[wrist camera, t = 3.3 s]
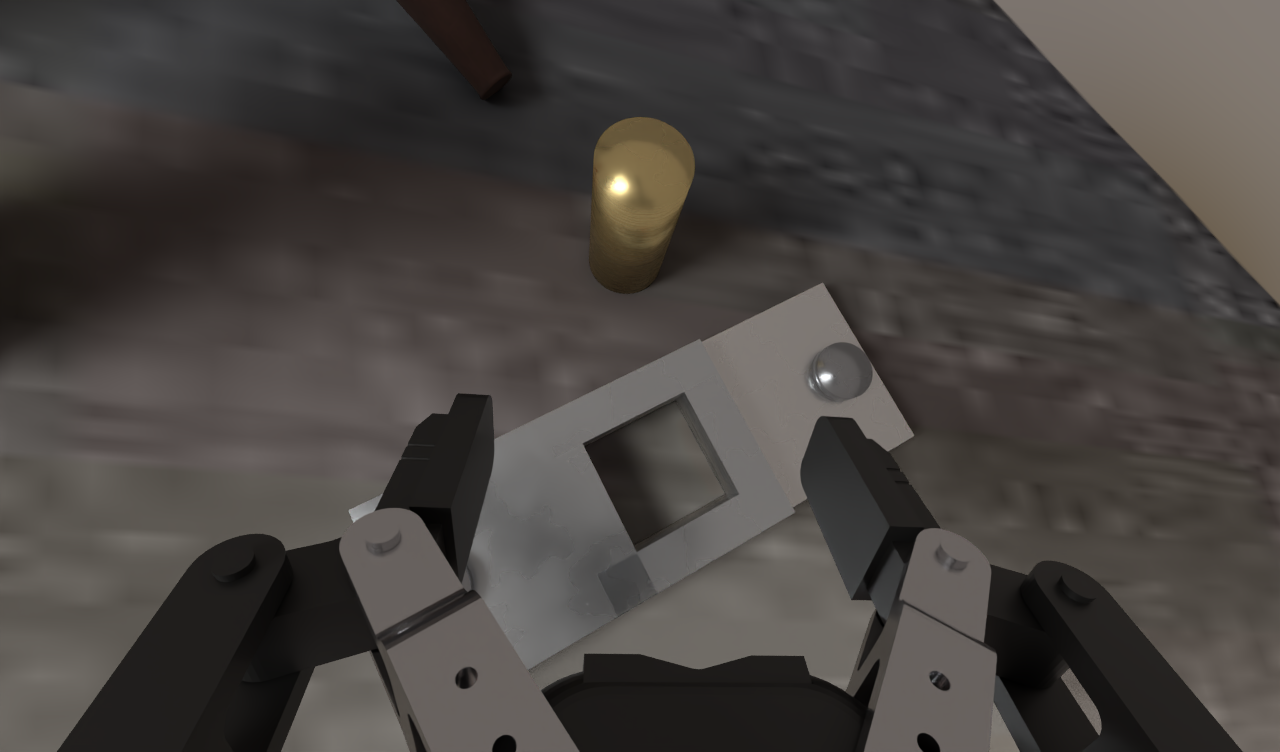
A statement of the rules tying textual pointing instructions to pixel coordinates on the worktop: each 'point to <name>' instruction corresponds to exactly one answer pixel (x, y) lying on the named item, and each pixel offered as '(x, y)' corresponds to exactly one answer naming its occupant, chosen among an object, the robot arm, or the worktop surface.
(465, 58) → the holster
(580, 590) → the grey metal plate
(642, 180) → the pin
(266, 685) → the robot arm
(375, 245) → the worktop surface
